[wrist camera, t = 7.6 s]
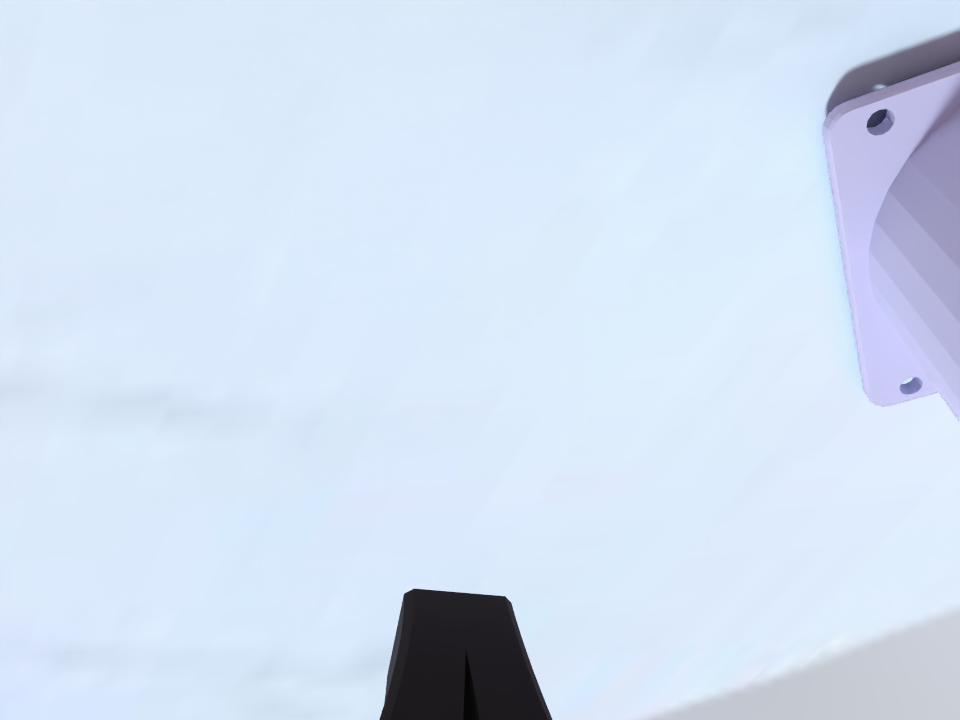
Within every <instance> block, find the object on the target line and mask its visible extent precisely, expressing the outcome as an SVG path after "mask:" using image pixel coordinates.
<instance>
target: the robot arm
mask: <svg viewBox="0 0 960 720" xmlns="http://www.w3.org/2000/svg"><path fill="white" fill-rule="evenodd" d="M881 109H887V113H886V117H885V119H884V120H883V121H882V123H881V124H879V125H877V126H875V127H871V128H867V121H868V119H869V118H870V116H871V115H872V114H873V113H875V112H876V111H878V110H881ZM822 134H823V140H824V147H825V153H826V159H827V166H828V172H829V178H830V184H831V191H832V197H833V203H834V210H835V216H836V222H837V229H838V235H839V241H840V247H841V254H842V260H843V266H844V273H845V279H846V285H847V292H848V298H849V304H850V310H851V317H852V323H853V329H854V336H855V342H856V348H857V355H858V361H859V367H860V373H861V380H862V386H863V390H864V392H865V394H866V396H867V398H868V399H869V401H870V402H871V403H872V404H874V405H875V406H881V407H884V406H891V405H895V404H898V403H902V402H906V401H909V400H913V399H916V398H920V397H924V396H927V395H931V394H934V393H939V394H940V395H941V397H942V398H943V400H944V401H945V403H946V404H947V405H948V407H949V408H950V410H951V411H952V412H953V414H954V415H955V417H956V418H957V420H958V421H959V422H960V61H959V62H956V63H953V64H950V65H947V66H944V67H942V68H939V69H936V70H933V71H930V72H927V73H925V74H922V75H919V76H916V77H913V78H911V79H908V80H905V81H902V82H899V83H896V84H894V85H891V86H888V87H885V88H882V89H880V90H877V91H874V92H871V93H868V94H865V95H863V96H860V97H857V98H854V99H851V100H848V101H846V102H844V103H842V104H840V105H838V106H836V107H835V108H834V109H833V110H832V111H831V112H830V113H829V114H828V115H827V117H826V119H825V121H824V123H823V133H822ZM912 377H914V378H913V379H912V381H910V382H908V383H906V384H902V383H903V381H904V380H906V379H908V378H912ZM380 720H552V718H551V715H550V713H549V710H548V708H547V705H546V703H545V700H544V698H543V695H542V693H541V690H540V687H539V685H538V682H537V679H536V677H535V674H534V672H533V669H532V666H531V663H530V660H529V658H528V655H527V652H526V649H525V646H524V643H523V640H522V637H521V634H520V631H519V628H518V624H517V621H516V618H515V615H514V611H513V607H512V604H511V602H510V601H509V600H508V599H507V598H506V597H505V596H494V595H482V594H470V593H458V592H446V591H434V590H423V589H413V590H411V591H409V592H407V593H405V594H404V597H403V602H402V607H401V612H400V617H399V621H398V626H397V631H396V636H395V641H394V646H393V651H392V656H391V660H390V665H389V670H388V675H387V686H386V695H385V704H384V707H383V710H382V714H381V717H380Z"/></svg>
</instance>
